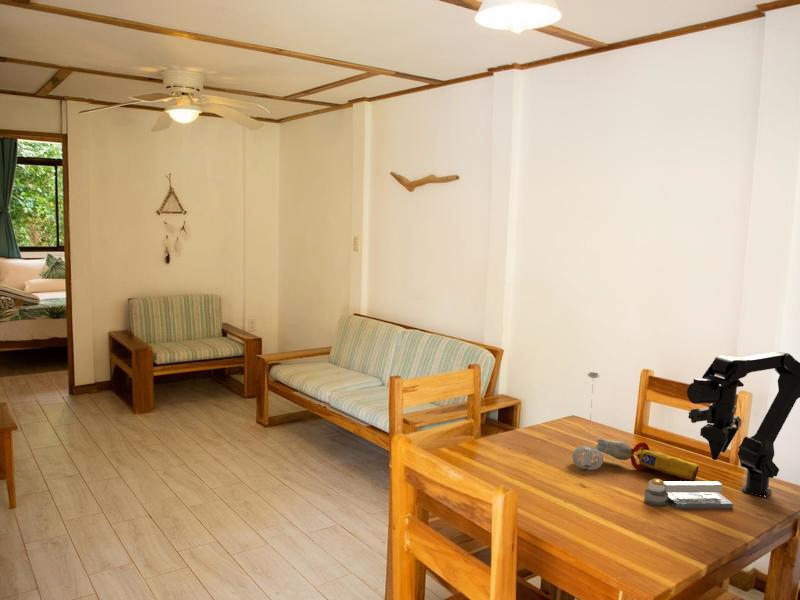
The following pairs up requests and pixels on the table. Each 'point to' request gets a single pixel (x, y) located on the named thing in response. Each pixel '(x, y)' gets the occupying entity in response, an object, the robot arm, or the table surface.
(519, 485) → the table surface
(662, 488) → the swing arm
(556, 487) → the table surface
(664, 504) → the pivot base
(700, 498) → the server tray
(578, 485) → the table surface
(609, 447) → the toy
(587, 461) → the pendant light
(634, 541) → the table surface
